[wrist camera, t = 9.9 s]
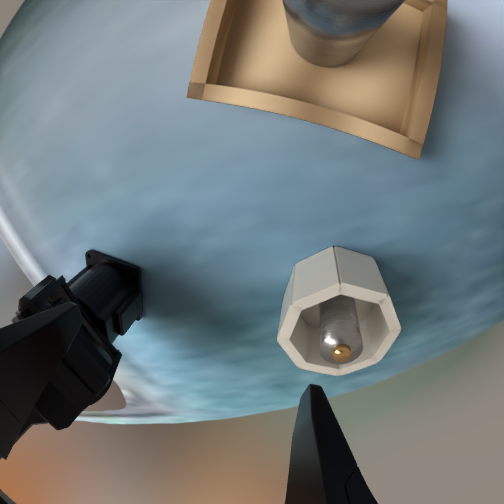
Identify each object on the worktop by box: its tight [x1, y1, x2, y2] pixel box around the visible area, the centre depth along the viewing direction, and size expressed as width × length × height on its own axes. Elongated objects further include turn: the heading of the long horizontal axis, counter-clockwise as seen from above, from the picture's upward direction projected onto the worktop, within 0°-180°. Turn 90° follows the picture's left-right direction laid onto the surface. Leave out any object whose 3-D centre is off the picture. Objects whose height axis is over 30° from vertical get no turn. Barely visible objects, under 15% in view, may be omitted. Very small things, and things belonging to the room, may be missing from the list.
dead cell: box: [319, 294, 363, 365], centre depth 19 cm, size 3×3×6 cm
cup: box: [277, 246, 401, 376], centre depth 20 cm, size 8×8×5 cm
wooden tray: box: [187, 0, 447, 160], centre depth 12 cm, size 14×12×3 cm
